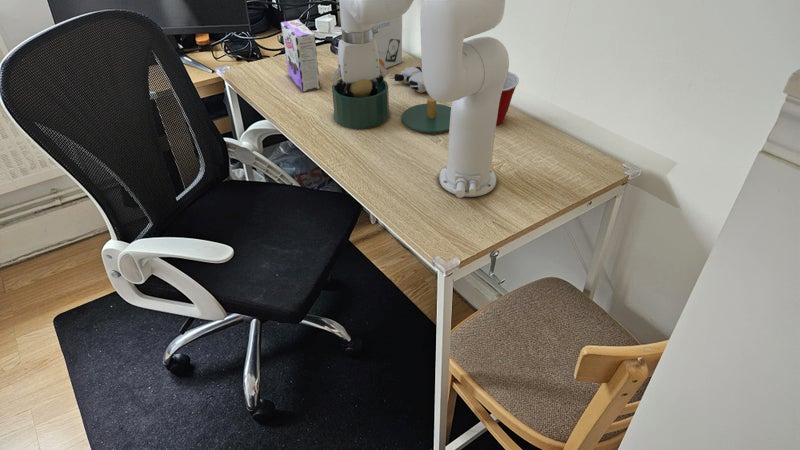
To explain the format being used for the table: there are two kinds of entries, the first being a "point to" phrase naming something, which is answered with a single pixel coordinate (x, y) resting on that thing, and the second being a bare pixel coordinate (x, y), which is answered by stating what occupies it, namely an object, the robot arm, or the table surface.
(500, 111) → the plastic cup
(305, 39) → the candy box
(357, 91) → the light bulb
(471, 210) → the table surface
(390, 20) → the hard drive box
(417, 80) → the robot toy
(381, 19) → the robot arm
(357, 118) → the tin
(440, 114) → the green pot lid
